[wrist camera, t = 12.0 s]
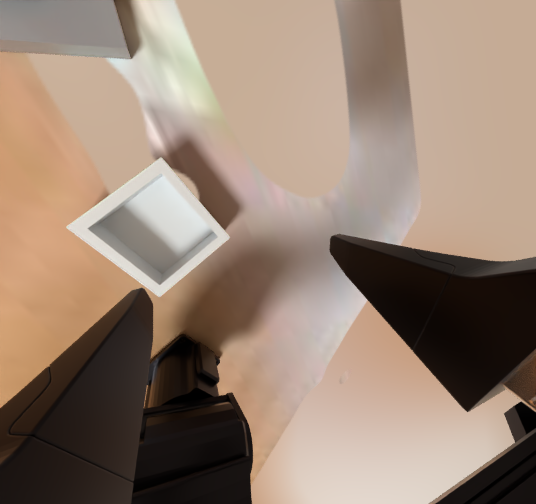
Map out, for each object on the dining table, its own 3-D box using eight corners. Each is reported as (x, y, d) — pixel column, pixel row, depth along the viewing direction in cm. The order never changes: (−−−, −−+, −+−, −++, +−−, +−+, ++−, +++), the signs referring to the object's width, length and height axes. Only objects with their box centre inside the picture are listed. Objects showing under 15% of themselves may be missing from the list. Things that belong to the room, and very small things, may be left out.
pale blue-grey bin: (162, 282, 20) (159, 297, 17) (84, 220, 16) (65, 227, 13) (224, 231, 21) (230, 237, 18) (164, 161, 17) (161, 157, 14)
